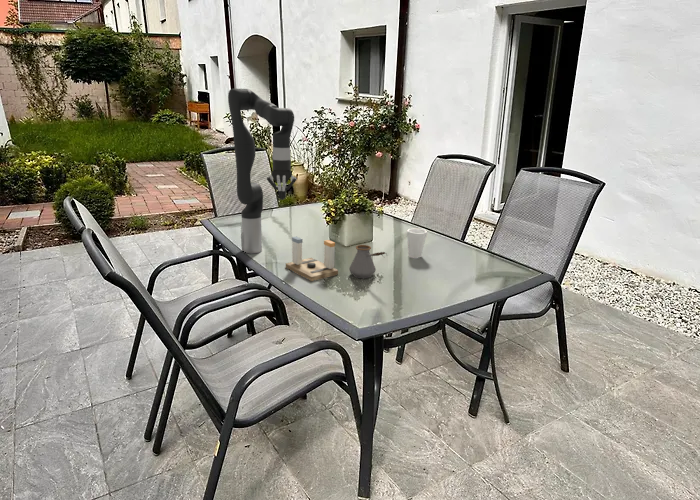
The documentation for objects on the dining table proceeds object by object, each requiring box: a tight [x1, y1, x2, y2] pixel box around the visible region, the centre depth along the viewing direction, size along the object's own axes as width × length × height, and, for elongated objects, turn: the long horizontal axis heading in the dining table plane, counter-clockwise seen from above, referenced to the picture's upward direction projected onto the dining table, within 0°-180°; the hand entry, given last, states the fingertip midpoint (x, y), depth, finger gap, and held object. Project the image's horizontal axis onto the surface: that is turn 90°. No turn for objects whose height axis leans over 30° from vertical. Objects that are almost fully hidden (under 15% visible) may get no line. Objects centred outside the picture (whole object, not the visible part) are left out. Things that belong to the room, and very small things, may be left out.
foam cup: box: [406, 228, 428, 259], centre depth 227 cm, size 10×9×13 cm
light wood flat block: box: [285, 257, 339, 282], centre depth 204 cm, size 14×20×3 cm
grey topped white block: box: [291, 236, 304, 265], centre depth 204 cm, size 2×5×12 cm, turn 40°
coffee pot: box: [348, 244, 388, 279], centre depth 196 cm, size 21×12×15 cm, turn 32°
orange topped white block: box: [323, 239, 336, 269], centre depth 201 cm, size 2×5×12 cm, turn 40°
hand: (282, 199), depth 198 cm, fingers closed
